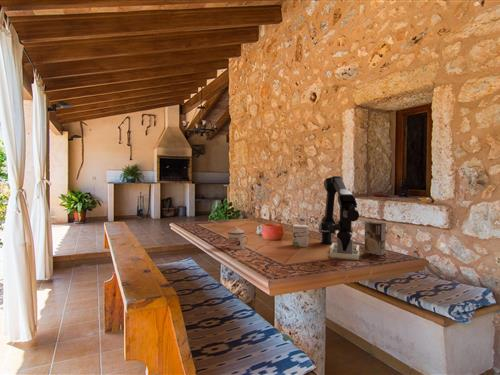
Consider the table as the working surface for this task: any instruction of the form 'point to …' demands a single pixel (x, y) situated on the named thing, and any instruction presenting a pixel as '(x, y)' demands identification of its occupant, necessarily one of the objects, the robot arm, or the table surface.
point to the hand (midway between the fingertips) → (344, 249)
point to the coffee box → (375, 237)
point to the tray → (352, 256)
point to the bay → (336, 246)
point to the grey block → (349, 247)
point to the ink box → (300, 235)
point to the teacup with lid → (236, 239)
